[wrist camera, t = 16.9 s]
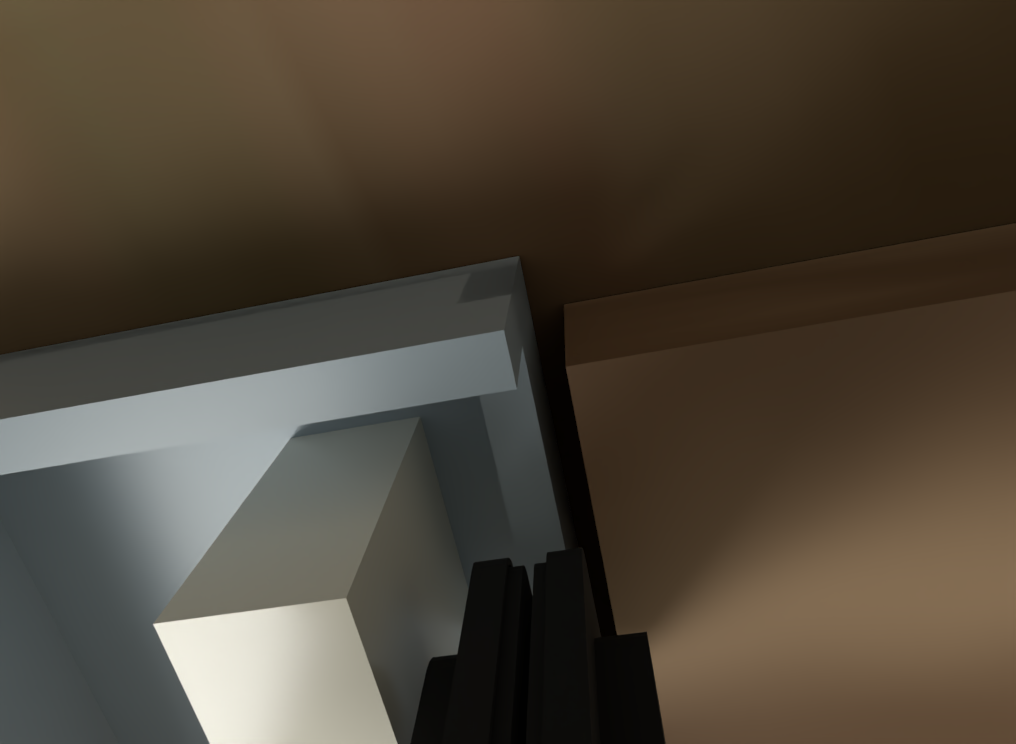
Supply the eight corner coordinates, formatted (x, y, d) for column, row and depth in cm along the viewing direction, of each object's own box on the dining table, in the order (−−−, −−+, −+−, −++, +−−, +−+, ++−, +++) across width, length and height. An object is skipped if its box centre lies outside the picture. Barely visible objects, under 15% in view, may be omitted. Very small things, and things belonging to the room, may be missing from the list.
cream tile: (445, 882, 10) (282, 894, 11) (481, 634, 15) (364, 649, 15) (346, 598, 9) (152, 624, 9) (419, 416, 13) (290, 438, 14)
